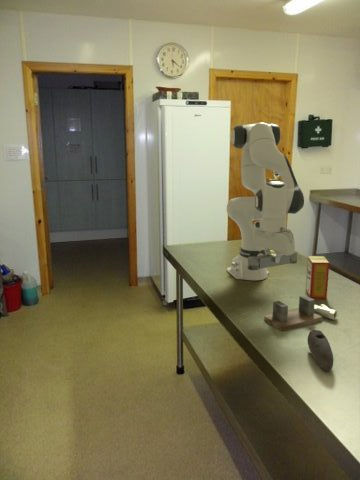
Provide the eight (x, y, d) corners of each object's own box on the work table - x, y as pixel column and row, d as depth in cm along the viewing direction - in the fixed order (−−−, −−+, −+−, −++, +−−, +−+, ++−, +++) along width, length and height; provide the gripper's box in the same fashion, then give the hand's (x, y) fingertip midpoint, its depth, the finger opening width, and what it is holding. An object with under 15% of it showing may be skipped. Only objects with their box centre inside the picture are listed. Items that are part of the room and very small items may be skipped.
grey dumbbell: (245, 267, 140) (245, 257, 139) (291, 259, 149) (292, 250, 148) (251, 270, 136) (252, 260, 135) (299, 262, 145) (299, 252, 144)
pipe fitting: (318, 311, 144) (311, 315, 139) (319, 301, 143) (312, 305, 138) (339, 316, 139) (332, 321, 134) (340, 306, 138) (334, 311, 133)
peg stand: (264, 319, 136) (264, 300, 135) (302, 310, 143) (303, 292, 142) (281, 331, 127) (282, 310, 126) (322, 320, 134) (323, 301, 133)
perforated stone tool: (338, 377, 101) (340, 354, 100) (318, 376, 102) (319, 353, 100) (323, 348, 116) (324, 328, 114) (305, 348, 116) (306, 327, 115)
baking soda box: (326, 299, 153) (329, 261, 150) (310, 298, 154) (312, 261, 151) (321, 290, 163) (323, 255, 159) (305, 290, 163) (307, 255, 160)
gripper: (300, 229, 131) (298, 267, 134) (264, 220, 149) (263, 253, 152) (285, 231, 128) (283, 269, 132) (251, 221, 147) (250, 255, 150)
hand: (272, 261), depth 142 cm, fingers closed on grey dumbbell, 3 cm apart
